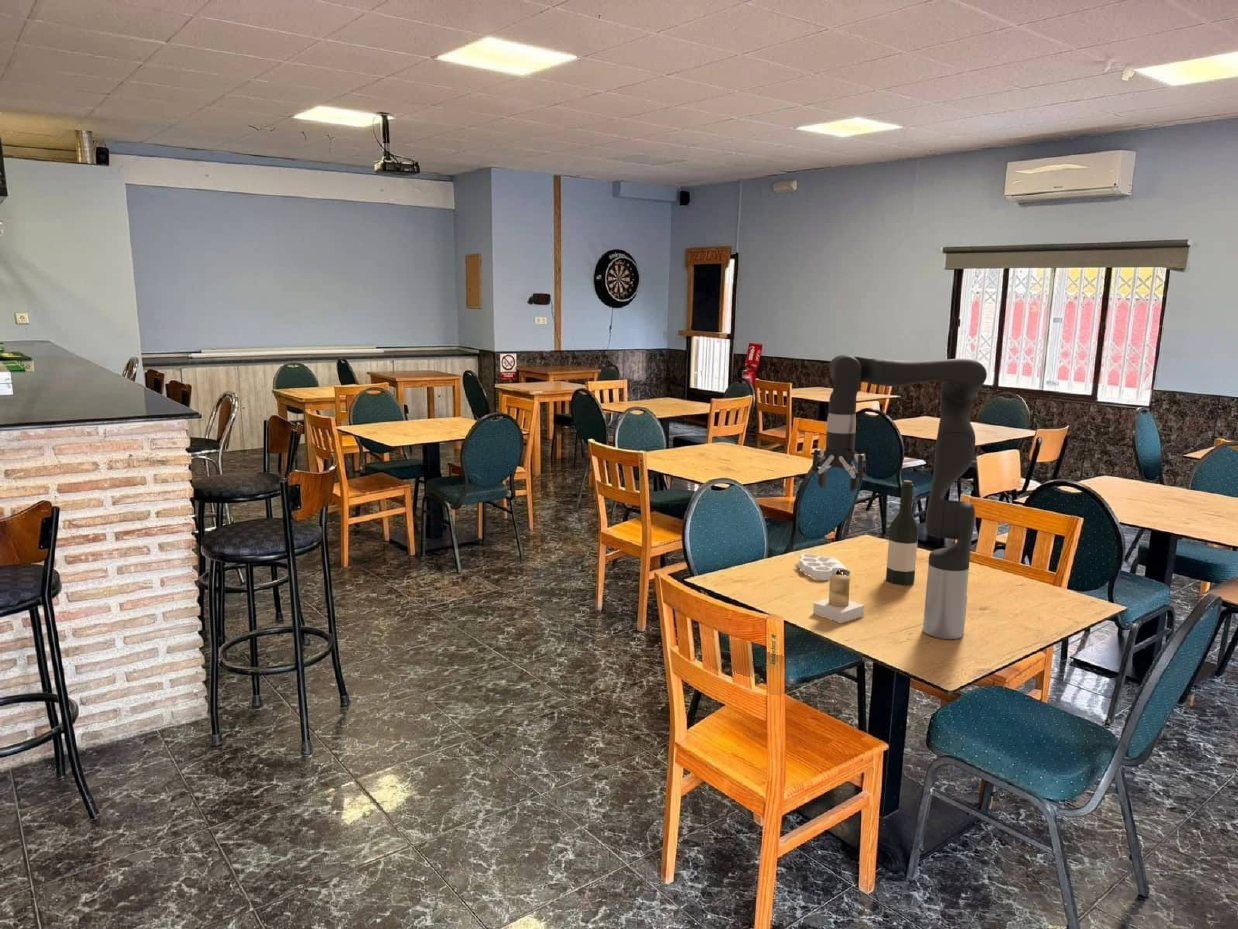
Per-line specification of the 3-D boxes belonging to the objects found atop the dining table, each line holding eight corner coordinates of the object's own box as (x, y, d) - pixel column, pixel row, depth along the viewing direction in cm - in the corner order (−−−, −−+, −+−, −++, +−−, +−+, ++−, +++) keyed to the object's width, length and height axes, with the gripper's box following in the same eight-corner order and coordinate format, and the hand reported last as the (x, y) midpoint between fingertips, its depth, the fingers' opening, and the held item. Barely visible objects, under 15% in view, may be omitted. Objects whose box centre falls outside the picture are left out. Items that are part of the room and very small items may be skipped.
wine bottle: (919, 586, 240) (927, 484, 235) (890, 585, 240) (897, 483, 235) (909, 576, 248) (917, 478, 243) (881, 576, 248) (888, 478, 243)
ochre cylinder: (836, 599, 219) (837, 573, 218) (852, 604, 215) (853, 578, 214) (824, 603, 216) (825, 577, 215) (840, 608, 212) (842, 581, 211)
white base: (834, 606, 222) (835, 595, 222) (863, 616, 215) (864, 605, 215) (813, 613, 217) (813, 602, 216) (841, 623, 210) (842, 612, 209)
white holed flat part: (853, 582, 244) (804, 582, 243) (834, 563, 262) (788, 564, 261) (854, 571, 244) (804, 571, 243) (835, 553, 261) (789, 553, 261)
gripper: (872, 431, 221) (867, 490, 224) (821, 426, 230) (818, 483, 233) (861, 434, 216) (857, 495, 218) (810, 429, 224) (806, 488, 227)
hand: (837, 489), depth 226 cm, fingers open, 8 cm apart
